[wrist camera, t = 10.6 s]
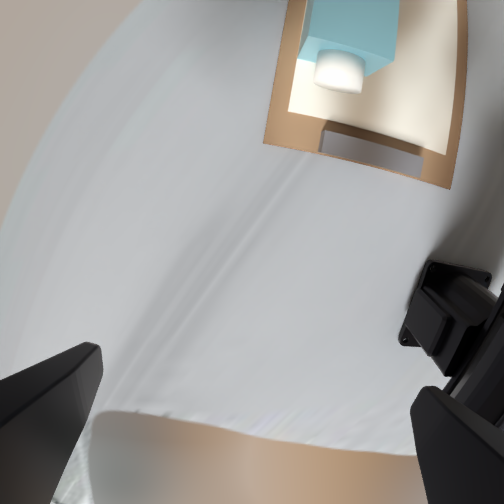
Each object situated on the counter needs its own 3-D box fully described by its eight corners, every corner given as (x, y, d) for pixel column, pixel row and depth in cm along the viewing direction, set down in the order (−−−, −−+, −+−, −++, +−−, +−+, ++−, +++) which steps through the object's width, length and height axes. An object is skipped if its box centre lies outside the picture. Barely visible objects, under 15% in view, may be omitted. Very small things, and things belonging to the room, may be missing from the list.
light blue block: (316, -50, 12) (327, -85, 9) (378, -32, 13) (400, -61, 9) (292, 84, 16) (302, 67, 12) (362, 102, 16) (390, 92, 12)
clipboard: (463, -5, 13) (473, -10, 12) (446, 188, 18) (458, 192, 16) (300, -63, 12) (303, -74, 11) (263, 143, 17) (263, 142, 16)
